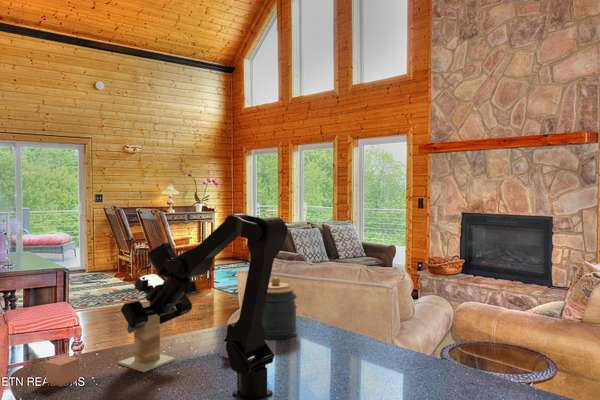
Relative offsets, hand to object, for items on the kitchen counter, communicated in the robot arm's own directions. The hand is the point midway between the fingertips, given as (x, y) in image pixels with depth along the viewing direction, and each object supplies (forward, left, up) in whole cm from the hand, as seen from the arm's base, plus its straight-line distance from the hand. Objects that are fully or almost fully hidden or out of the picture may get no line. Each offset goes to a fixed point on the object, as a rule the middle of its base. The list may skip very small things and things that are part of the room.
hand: (143, 327), depth 129 cm
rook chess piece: (-13, -18, -9) cm, 24 cm away
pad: (-1, 0, -9) cm, 9 cm away
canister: (-7, -40, -9) cm, 42 cm away
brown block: (-1, 0, -8) cm, 8 cm away
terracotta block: (+2, +20, -9) cm, 22 cm away
